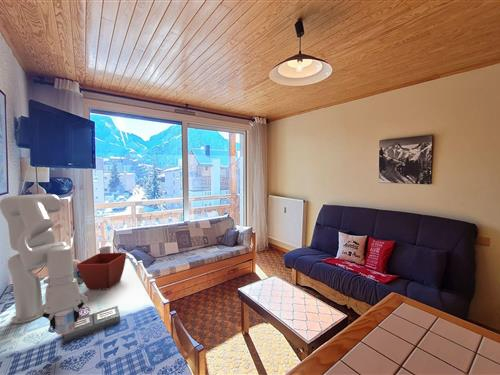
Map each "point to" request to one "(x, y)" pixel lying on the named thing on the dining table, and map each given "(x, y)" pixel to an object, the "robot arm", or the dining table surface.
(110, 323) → the panel
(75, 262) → the decorative egg
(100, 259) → the plant pot
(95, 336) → the dining table surface
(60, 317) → the pill bottle
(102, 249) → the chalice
